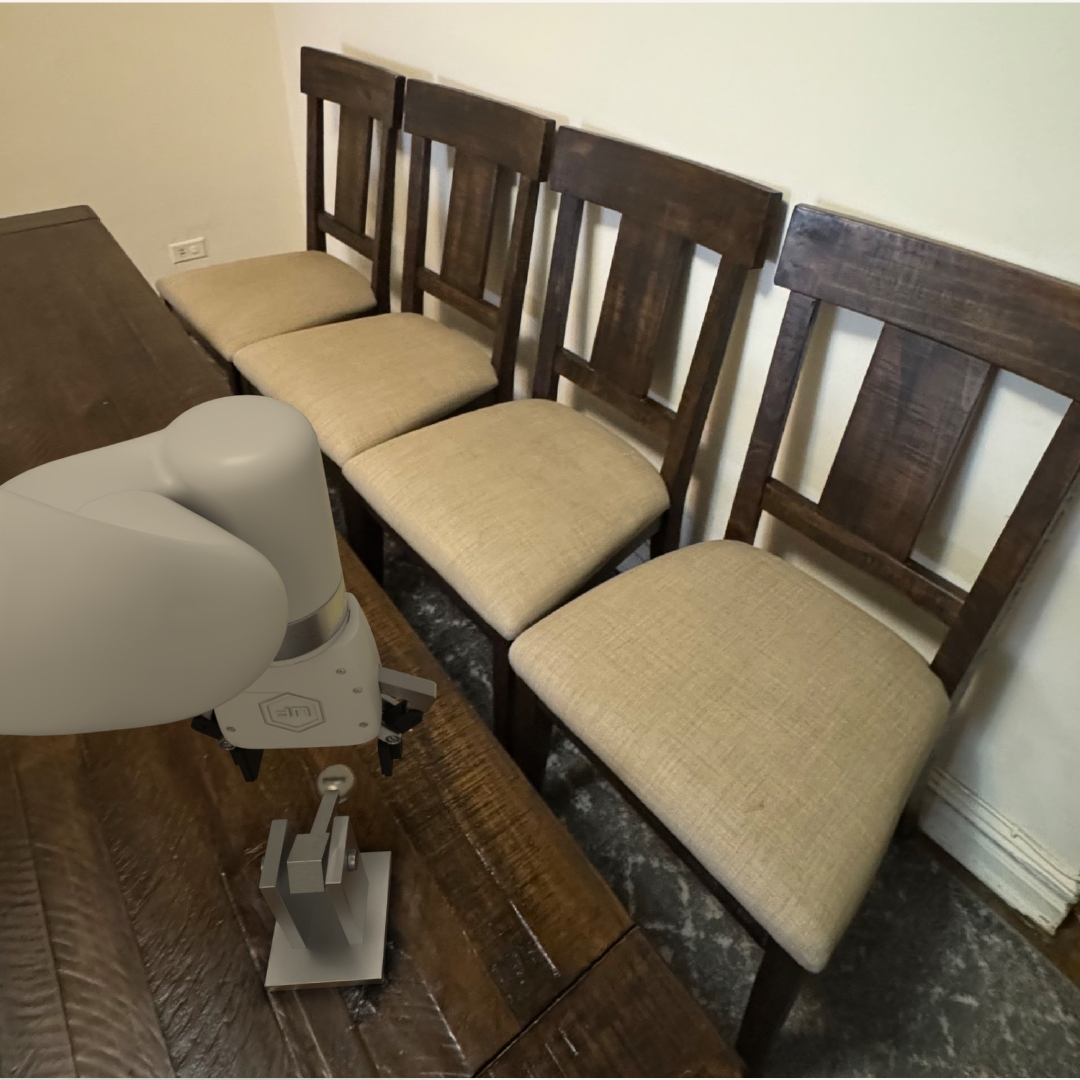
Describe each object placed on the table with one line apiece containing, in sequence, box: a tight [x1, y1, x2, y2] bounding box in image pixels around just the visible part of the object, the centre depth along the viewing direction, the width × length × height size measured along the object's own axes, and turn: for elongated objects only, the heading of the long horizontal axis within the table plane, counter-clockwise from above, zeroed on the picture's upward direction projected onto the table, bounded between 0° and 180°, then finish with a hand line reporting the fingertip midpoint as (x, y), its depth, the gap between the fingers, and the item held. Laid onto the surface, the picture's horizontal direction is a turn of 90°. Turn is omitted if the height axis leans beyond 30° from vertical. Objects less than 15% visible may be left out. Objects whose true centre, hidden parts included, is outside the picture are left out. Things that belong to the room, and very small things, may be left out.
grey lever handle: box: [287, 762, 358, 894], centre depth 53 cm, size 12×3×3 cm, turn 4°
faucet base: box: [258, 815, 393, 992], centre depth 51 cm, size 9×8×12 cm
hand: (323, 761), depth 55 cm, fingers open, 9 cm apart
